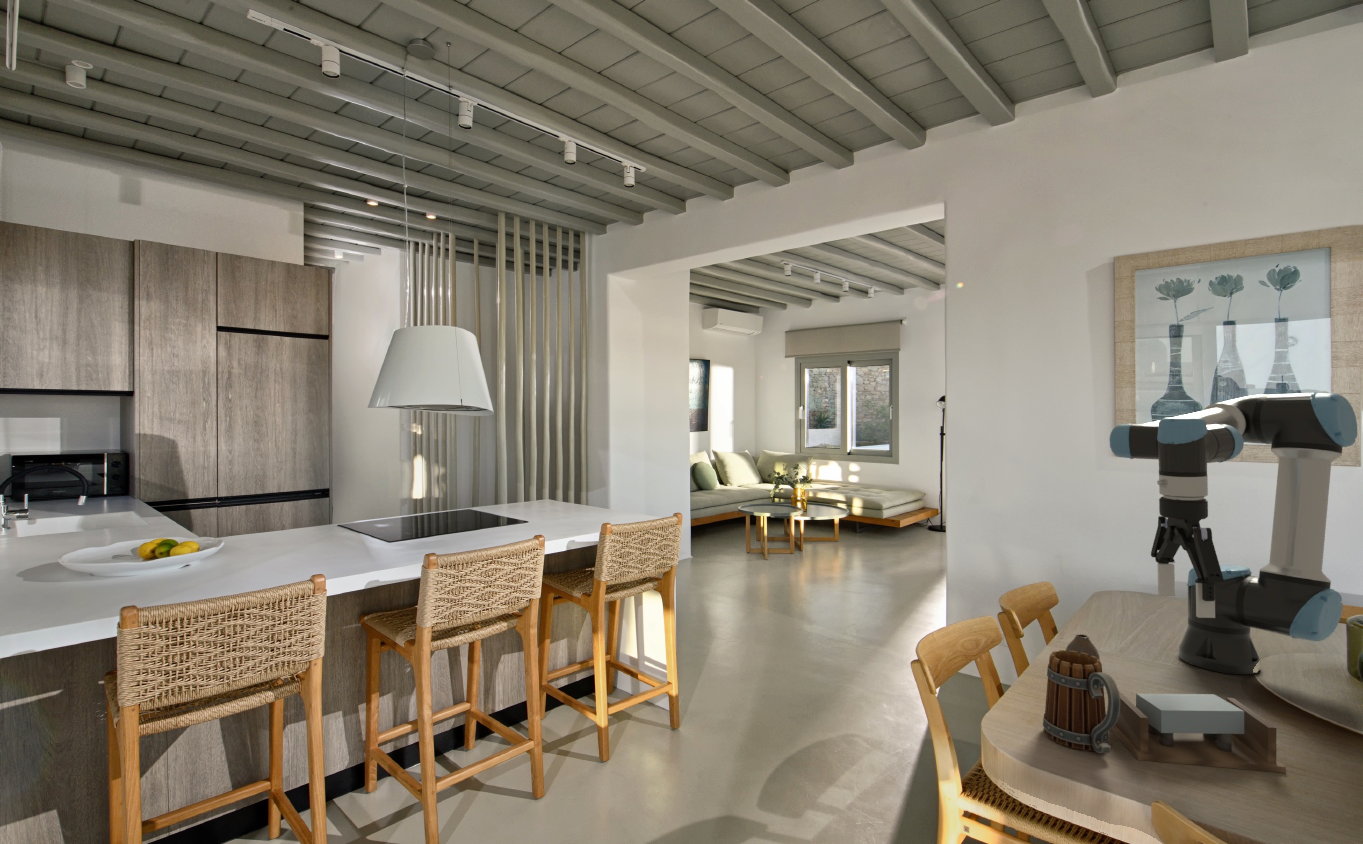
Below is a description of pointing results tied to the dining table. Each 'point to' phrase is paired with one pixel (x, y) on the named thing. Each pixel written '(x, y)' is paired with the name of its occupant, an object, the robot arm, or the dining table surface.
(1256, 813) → the dining table surface
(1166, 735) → the peg frame
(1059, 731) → the mug
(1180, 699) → the board
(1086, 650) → the vase
